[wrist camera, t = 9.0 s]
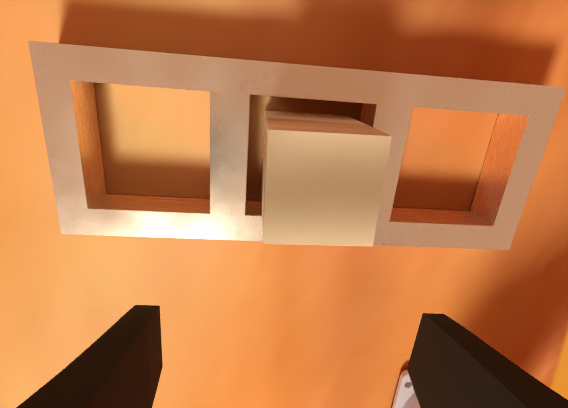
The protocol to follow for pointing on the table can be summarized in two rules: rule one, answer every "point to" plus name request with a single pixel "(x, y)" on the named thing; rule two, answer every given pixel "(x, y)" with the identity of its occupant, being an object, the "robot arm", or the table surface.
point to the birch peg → (321, 179)
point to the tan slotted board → (235, 139)
